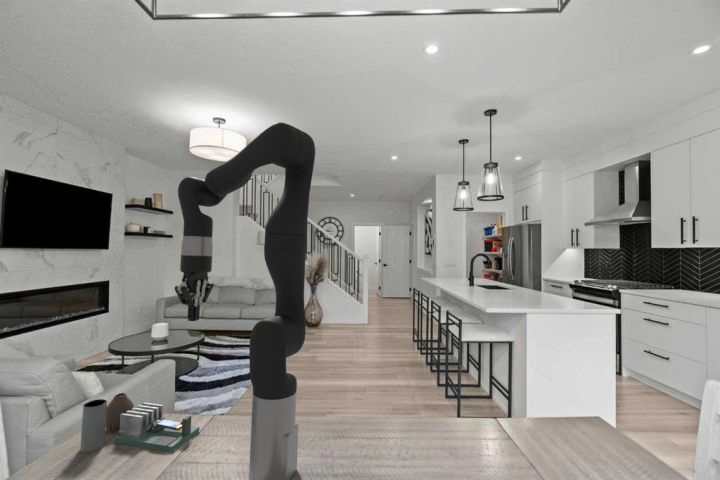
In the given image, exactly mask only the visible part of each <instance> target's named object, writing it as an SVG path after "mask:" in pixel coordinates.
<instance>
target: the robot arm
mask: <svg viewBox="0 0 720 480" xmlns="http://www.w3.org/2000/svg"><path fill="white" fill-rule="evenodd" d="M315 159H316V145H315V141H314V139H313V138H312V136H311V135H310V134H309V133H306V131H305V132H304V131H303V130H301V129H299V128H297V127H295V126H293V125H291V124H289V123H286V122H282V121H281V122H275V123H273V124H271V125H270V126H268V127H266V128H265V129H263V131H262V132H260V133H259V134H258V135H256V137H254V139H253V140H252V141H250V142H249V143H248V144H247V145H246V146H245V147H243V149H241V150H240V151H239V152H238V153H237V154H236V155H234V156H233V157H232V158H230V159H229V160H227V161H225V162H223V163H221V164H219V165H218V166H216V167H214V168H212V169H211V170H209V172H207V173H206V175H205V178H204V179H203V178H198V177H194V176H186V177H184V178H183V179H182V180H181V181H180V183H179V184H178V186H177V187H178V188H177V196H178V201H179V205H180V209H181V214H182V219H183V234H182V235H183V236H182V241H181V248H180V249H181V250H180V266H179V270H180V272H181V273H183V275H182V278H181V283H180V284H179V285H175V286H174V291H175V293H176V295H177V297H178V299H179V300H180V302H181V305H185V306H186V307H187V321H188V322H196V321H199V320H200V315H201V314H200V313H201V306H202V304H205V303H206V302H207V300H208V299H209V296H210V294H211V292H212V290H213V288H214V283H212V282H210V281H209V276H208V273H211V272H212V270H213V269H212V268H213V267H212V266H213V248H214V245H213V244H214V243H213V230H214V229H213V227H214V220H213V217H212V216H210V215H207V214H205V213H203V212H202V211H201V209H200V206H201V207H206V208H210V207H216V206H217V205H219V204H220V203H221V202H222V201H223V200H224V199H225V198H226V197H227V195H229V194H231V193H233V192H235V191H237V190H239V189H241V188H243V187H244V186H245V185H247V184H248V183H249V181H250V180H251V178H252V176H253V173H254V171H255V170H257V169H259V168H262V167H264V166H268V165H274V166H277V167H281V168H283V169H285V170H284V172H285V173H284V176H285V177H284V185H283V191H282V194H281V197H280V199H279V201H278V202H277V204H276V205H275V207H274V209H273V210H272V212H271V214H270V216H269V217H268V220H267V222H266V225H265V229H264V244H263V245H264V247H263V250H264V251H263V254H264V256H263V258H264V261H265V264H266V268H267V270H268V273H269V275H270V277H271V281H272V282H273V285H274V289H275V311H274V312H275V313H274V316H273V317H268V318H263V319H260V320H259V321H257V322H256V324H255V325H254V326H253V327H252V330H251V333H250V338H249V349H248V350H249V379H250V382H251V386H252V403H251V404H252V405H251V419H250V420H251V422H250V423H251V425H250V444H249V464H248V466H249V467H248V472H249V473H248V479H249V480H291V478H292V477H293V475H294V474H295V473H296V471H297V469H298V467H297V466H298V452H299V451H298V450H299V449H298V448H299V424H298V423H296V417H297V415H296V411H297V390H298V386H297V385H298V381H297V380H298V379H297V378H296V376H295V375H294V374H292V373H290V372H287V358H289V357H291V356H294V355H295V354H297V353H298V352H300V351H301V349H302V348H303V346H304V343H305V340H306V313H305V282H306V281H305V278H306V257H307V247H308V246H307V245H308V242H307V241H308V218H309V217H308V215H309V205H310V193H311V187H312V180H313V172H314V167H315Z"/></svg>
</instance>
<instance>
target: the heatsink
mask: <svg viewBox="0 0 720 480" xmlns="http://www.w3.org/2000/svg"><path fill="white" fill-rule="evenodd" d="M164 406H165V405H164V404H157V403H150V402H142V404H137V406H136V407H134V408H132V411H129V410H128V411H126V414H124V413H122V414H120V430H119V431H118V432H117V436H124V437H130V438H137V439H140V438H141V437H143V436H145V435H146V434H148V433H149V432H150V433H157V432H158V431H160V430H161V429H163V428H162V427H155V428H153V427H152V423H154V422H156V421H157V420H159V419H161V418H162V417H164Z"/></svg>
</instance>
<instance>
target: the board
mask: <svg viewBox="0 0 720 480" xmlns="http://www.w3.org/2000/svg"><path fill="white" fill-rule="evenodd" d="M200 428H201V427H200V426H197V425H191V432H190V433H189V434H187V435H186V436H182V429H180V430H179V431H176V430H171V429H167V428H163V429H161V430H160V431H158V432H157V433H150V432H149V433H148V434H146V435H145V436H143V437H141V438H140V439H137V438H130V437H124V436H118V435H117V436H115V437H114V439H113V443H116V444H120V445H127V446H131V447H132V446H133V447H137V448H143V449H144V448H146V449H150V450H151V449H152V450H156V451H157V450H158V451H163V452H170V453H173V452H174V451H175V450H176V449H177V448H179V447H180V446H182V445H184V443H186V442H188V441H189V440H190V439H191V438H193V437H194V436H196V435H197V434H199V432H200Z"/></svg>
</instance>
